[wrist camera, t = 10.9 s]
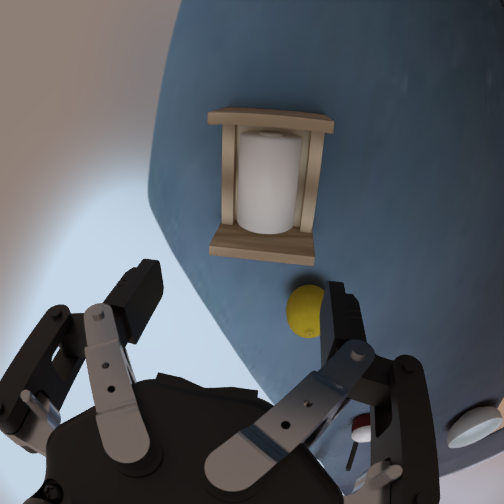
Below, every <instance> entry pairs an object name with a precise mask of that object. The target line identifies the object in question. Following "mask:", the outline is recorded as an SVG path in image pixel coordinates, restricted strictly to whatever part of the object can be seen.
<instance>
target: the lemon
mask: <svg viewBox="0 0 504 504" xmlns="http://www.w3.org/2000/svg"><path fill="white" fill-rule="evenodd" d="M323 295H324V290H323V289H322V288H320V287H319V286H316V285H303V286H300V287H299V288H297V289H296V290H295V291H293V292H292V294H291V295H290V297H289V299H288V302H287V306H286V316H287V321H288V323H289V326H290V328H291V329H292V330H293V332H294V333H296V334H297V335H299V336H301V337H304V338H313V337H317V336H319V335H320V320H319V316H320V308H321V303H322V299H323Z"/></svg>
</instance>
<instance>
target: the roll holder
mask: <svg viewBox="0 0 504 504" xmlns="http://www.w3.org/2000/svg"><path fill="white" fill-rule="evenodd" d="M208 124H223V131H222V222H221V223H220V225H219V227H218V229H217V231H216V233H215V235H214V237H213V239H212V241H211V243H210V245H209V255H216V256H225V257H234V258H243V259H252V260H262V261H271V262H280V263H289V264H299V265H308V266H313V265H314V259H315V252H314V242H313V232H312V226H313V219H314V212H315V206H316V198H317V191H318V184H319V176H320V168H321V160H322V151H323V142H324V133H331V134H333V130H334V121H333V120H331V119H330V118H329V117H327V116H326V115H323V114H315V113H307V112H297V111H287V110H275V109H260V108H239V107H225V108H221V109H218V110H214V111H211V112H208ZM246 131H277V132H285V133H290V134H295V135H298V136H301V137H302V147H301V158H300V168H299V178H298V188H297V197H296V207H295V215H294V224H293V227H292V228H291V229H290V230H288V231H286V232H283V233H278V234H260V233H255V232H251V231H248V230H246V229H244V228H242V227H241V226H240V225H239V224H238V222H237V212H238V172H239V139H240V133H242V132H246Z"/></svg>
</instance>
